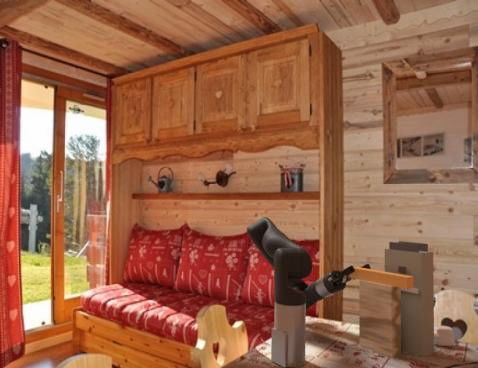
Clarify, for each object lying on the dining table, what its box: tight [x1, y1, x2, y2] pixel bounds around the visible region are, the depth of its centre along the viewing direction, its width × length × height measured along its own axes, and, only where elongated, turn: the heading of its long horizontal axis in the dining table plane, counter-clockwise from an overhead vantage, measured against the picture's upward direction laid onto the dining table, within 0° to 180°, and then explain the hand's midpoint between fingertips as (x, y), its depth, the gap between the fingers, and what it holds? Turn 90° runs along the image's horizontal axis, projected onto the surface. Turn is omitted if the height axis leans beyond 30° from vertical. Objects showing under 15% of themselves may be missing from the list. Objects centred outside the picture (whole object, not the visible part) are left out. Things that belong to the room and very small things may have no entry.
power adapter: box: [434, 325, 455, 347], centre depth 132 cm, size 11×5×6 cm, turn 83°
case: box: [384, 240, 435, 359], centre depth 128 cm, size 7×13×34 cm, turn 35°
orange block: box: [349, 266, 414, 289], centre depth 128 cm, size 4×22×4 cm, turn 35°
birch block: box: [358, 279, 402, 358], centre depth 127 cm, size 5×12×22 cm, turn 35°
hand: (361, 267), depth 133 cm, fingers open, 8 cm apart
